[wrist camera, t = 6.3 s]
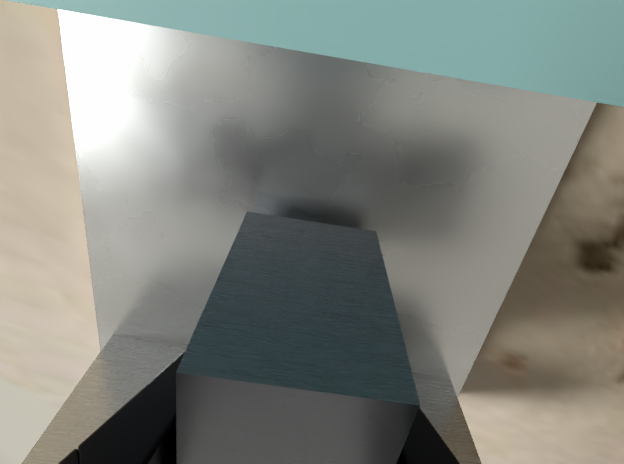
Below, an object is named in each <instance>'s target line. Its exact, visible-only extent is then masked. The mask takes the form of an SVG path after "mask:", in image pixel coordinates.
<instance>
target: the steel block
mask: <svg viewBox="0 0 624 464" xmlns="http://www.w3.org/2000/svg"><path fill="white" fill-rule="evenodd" d="M419 408H420V402H419V398H418V394H417V390H416V386H415V382H414V378H413V374H412V371H411V367H410V363H409V359H408V355H407V351H406V347H405V343H404V339H403V335H402V331H401V327H400V323H399V319H398V315H397V311H396V307H395V303H394V299H393V295H392V292H391V288H390V284H389V280H388V276H387V272H386V268H385V264H384V260H383V256H382V252H381V248H380V244H379V240H378V236H377V232H376V231H371V230H364V229H358V228H351V227H345V226H338V225H332V224H325V223H319V222H313V221H306V220H300V219H293V218H287V217H280V216H274V215H267V214H261V213H254V212H248V211H247V213H246V215H245V217H244V219H243V222H242V224H241V226H240V228H239V231H238V233H237V235H236V238H235V240H234V242H233V244H232V247H231V249H230V251H229V253H228V256H227V258H226V260H225V262H224V265H223V267H222V269H221V271H220V274H219V276H218V278H217V281H216V283H215V285H214V287H213V290H212V292H211V294H210V296H209V299H208V301H207V303H206V305H205V308H204V310H203V312H202V314H201V317H200V319H199V321H198V324H197V326H196V328H195V330H194V333H193V335H192V337H191V339H190V342H189V344H188V346H187V348H186V351H185V353H184V355H183V357H182V360H181V362H180V364H179V367H178V369H177V371H176V441H177V464H396V463H397V460H398V458H399V456H400V453H401V451H402V448H403V446H404V444H405V441H406V439H407V436H408V434H409V432H410V429H411V427H412V424H413V422H414V420H415V417H416V415H417V412H418V410H419Z"/></svg>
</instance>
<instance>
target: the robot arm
mask: <svg viewBox="0 0 624 464" xmlns="http://www.w3.org/2000/svg"><path fill="white" fill-rule="evenodd" d="M185 351H186V350H185ZM185 351H184V352H183V353H182V354H181V355H180V356H178V357H177V358H176V359H175V360H174V361H173V362H172V363H171V364H169V365H168V366H167V367H166V368H165V369H164V370H163V371H162V372H160V373H159V374H158V375H157V376H156V377H155V378H154V379H153V380H151V381H150V382H149V383H148V384H147V385H146V386H145V387H144V388H142V389H141V390H140V391H139V392H138V393H137V394H136V395H135V396H133V397H132V398H131V399H130V400H129V401H128V402H127V403H126V404H124V405H123V406H122V407H121V408H120V409H119V410H118V411H117V412H115V413H114V414H113V415H112V416H111V417H110V418H109V419H108V420H106V421H105V422H104V423H103V424H102V425H101V426H100V427H99V428H97V429H96V430H95V431H94V432H93V433H92V434H91V435H90V436H89V437H87V438H86V439H85V440H84V441H83V442H82V443H81V444H80V445H79V446H78V449H74V450H72V451H71V452H70V453H69V454H68V455H67V456H66V457H65V458H64V459H62V460H61V461H60V462H59V463H58V464H177V441H176V371H177V369H178V367H179V364H180V362H181V360H182V357H183V355H184V353H185ZM396 464H460V462H459V461H458V460H457V458H456V457H455V456H454V454H453V453H452V451H451V450H450V449H449V447H448V446H447V444H446V443H445V442H444V440H443V439H442V437H441V436H440V435H439V433H438V432H437V431H436V429H435V428H434V426H433V425H432V424H431V422H430V421H429V419H428V418H427V417H426V415H425V414H424V412H423V411H422V410H421V408H419V410H418V412H417V415H416V417H415V420H414V422H413V424H412V427H411V429H410V432H409V434H408V436H407V439H406V441H405V444H404V446H403V448H402V451H401V453H400V456H399V458H398V460H397V463H396Z"/></svg>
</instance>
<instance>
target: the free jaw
mask: <svg viewBox="0 0 624 464" xmlns="http://www.w3.org/2000/svg"><path fill="white" fill-rule="evenodd" d="M8 1H14V2H20V3H25V4H31V5H37V6H43V7H48V8H54V9H60V10H66V11H72V12H77V13H83V14H89V15H95V16H100V17H106V18H112V19H118V20H123V21H129V22H135V23H141V24H147V25H152V26H158V27H164V28H170V29H175V30H181V31H187V32H193V33H199V34H204V35H210V36H216V37H222V38H227V39H233V40H239V41H245V42H251V43H256V44H262V45H268V46H274V47H279V48H285V49H291V50H297V51H302V52H308V53H314V54H320V55H326V56H331V57H337V58H343V59H349V60H354V61H360V62H366V63H372V64H378V65H383V66H389V67H395V68H401V69H406V70H412V71H418V72H424V73H430V74H435V75H441V76H447V77H453V78H458V79H464V80H470V81H476V82H481V83H487V84H493V85H499V86H505V87H510V88H516V89H522V90H528V91H533V92H539V93H545V94H551V95H557V96H562V97H568V98H574V99H580V100H585V101H591V102H597V103H603V104H608V105H614V106H620V107H624V0H8Z"/></svg>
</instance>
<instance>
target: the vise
mask: <svg viewBox="0 0 624 464" xmlns="http://www.w3.org/2000/svg"><path fill="white" fill-rule="evenodd" d="M58 13H59V21H60V29H61V37H62V45H63V53H64V61H65V69H66V77H67V85H68V93H69V101H70V109H71V117H72V125H73V134H74V142H75V150H76V158H77V166H78V174H79V182H80V190H81V198H82V206H83V214H84V222H85V230H86V238H87V246H88V254H89V262H90V270H91V278H92V286H93V294H94V302H95V310H96V318H97V326H98V335H99V343H100V351H101V352H100V353H99V355H98V356H97V358H96V359H95V360H94V362H93V363H92V365H91V366H90V367H89V369H88V370H87V372H86V373H85V375H84V376H83V377H82V379H81V380H80V382H79V383H78V385H77V386H76V387H75V389H74V390H73V392H72V393H71V394H70V396H69V397H68V399H67V400H66V402H65V403H64V404H63V406H62V407H61V409H60V410H59V411H58V413H57V414H56V416H55V417H54V419H53V420H52V421H51V423H50V424H49V426H48V427H47V429H46V430H45V431H44V433H43V434H42V436H41V437H40V439H39V440H38V441H37V443H36V444H35V446H34V447H33V448H32V450H31V451H30V453H29V454H28V456H27V457H26V458H25V460H24V461H23V463H22V464H58V463H59V462H60V461H61V460H62V459H64V458H65V457H66V456H67V455H68V454H69V453H70V452H71V451H72V450H74V449H78V446H79V445H80V444H81V443H82V442H83V441H84V440H85V439H86V438H87V437H89V436H90V435H91V434H92V433H93V432H94V431H95V430H96V429H97V428H99V427H100V426H101V425H102V424H103V423H104V422H105V421H106V420H108V419H109V418H110V417H111V416H112V415H113V414H114V413H115V412H117V411H118V410H119V409H120V408H121V407H122V406H123V405H124V404H126V403H127V402H128V401H129V400H130V399H131V398H132V397H133V396H135V395H136V394H137V393H138V392H139V391H140V390H141V389H142V388H144V387H145V386H146V385H147V384H148V383H149V382H150V381H151V380H153V379H154V378H155V377H156V376H157V375H158V374H159V373H160V372H162V371H163V370H164V369H165V368H166V367H167V366H168V365H169V364H171V363H172V362H173V361H174V360H175V359H176V358H177V357H178V356H180V355H181V354H182V353H183V352H184V351H185V350H186V348H187V346H188V344H189V342H190V339H191V337H192V335H193V333H194V330H195V328H196V326H197V324H198V321H199V319H200V317H201V314H202V312H203V310H204V308H205V305H206V303H207V301H208V299H209V296H210V294H211V292H212V290H213V287H214V285H215V283H216V281H217V278H218V276H219V274H220V271H221V269H222V267H223V265H224V262H225V260H226V258H227V256H228V253H229V251H230V249H231V247H232V244H233V242H234V240H235V238H236V235H237V233H238V231H239V228H240V226H241V224H242V222H243V219H244V217H245V215H246V213H247V211H248V212H254V213H261V214H267V215H274V216H280V217H287V218H293V219H300V220H306V221H313V222H319V223H325V224H332V225H338V226H345V227H351V228H358V229H364V230H371V231H376V232H377V236H378V240H379V244H380V248H381V252H382V256H383V260H384V264H385V268H386V272H387V276H388V280H389V284H390V288H391V292H392V295H393V299H394V303H395V307H396V311H397V315H398V319H399V323H400V327H401V331H402V335H403V339H404V343H405V347H406V351H407V355H408V359H409V363H410V367H411V371H412V374H413V378H414V382H415V386H416V390H417V394H418V398H419V402H420V408H421V410H422V411H423V412H424V414H425V415H426V417H427V418H428V419H429V421H430V422H431V424H432V425H433V426H434V428H435V429H436V431H437V432H438V433H439V435H440V436H441V437H442V439H443V440H444V442H445V443H446V444H447V446H448V447H449V449H450V450H451V451H452V453H453V454H454V456H455V457H456V458H457V460H458V461H459V462H460V464H481V461H480V458H479V456H478V453H477V450H476V447H475V445H474V442H473V439H472V436H471V434H470V431H469V428H468V425H467V423H466V420H465V417H464V415H463V412H462V409H461V406H460V404H459V401H458V396H459V394H460V391H461V389H462V387H463V385H464V383H465V381H466V379H467V377H468V374H469V372H470V370H471V368H472V366H473V364H474V362H475V360H476V358H477V355H478V353H479V351H480V349H481V347H482V345H483V343H484V341H485V339H486V336H487V334H488V332H489V330H490V328H491V326H492V324H493V322H494V319H495V317H496V315H497V313H498V311H499V309H500V307H501V305H502V303H503V300H504V298H505V296H506V294H507V292H508V290H509V288H510V286H511V283H512V281H513V279H514V277H515V275H516V273H517V271H518V269H519V267H520V264H521V262H522V260H523V258H524V256H525V254H526V252H527V250H528V248H529V245H530V243H531V241H532V239H533V237H534V235H535V233H536V231H537V228H538V226H539V224H540V222H541V220H542V218H543V216H544V214H545V212H546V209H547V207H548V205H549V203H550V201H551V199H552V197H553V195H554V192H555V190H556V188H557V186H558V184H559V182H560V180H561V178H562V176H563V173H564V171H565V169H566V167H567V165H568V163H569V161H570V159H571V157H572V154H573V152H574V150H575V148H576V146H577V144H578V142H579V140H580V137H581V135H582V133H583V131H584V129H585V127H586V125H587V123H588V121H589V118H590V116H591V114H592V112H593V110H594V108H595V106H596V104H597V102H591V101H585V100H580V99H574V98H568V97H562V96H557V95H551V94H545V93H539V92H533V91H528V90H522V89H516V88H510V87H505V86H499V85H493V84H487V83H481V82H476V81H470V80H464V79H458V78H453V77H447V76H441V75H435V74H430V73H424V72H418V71H412V70H406V69H401V68H395V67H389V66H383V65H378V64H372V63H366V62H360V61H354V60H349V59H343V58H337V57H331V56H326V55H320V54H314V53H308V52H302V51H297V50H291V49H285V48H279V47H274V46H268V45H262V44H256V43H251V42H245V41H239V40H233V39H227V38H222V37H216V36H210V35H204V34H199V33H193V32H187V31H181V30H175V29H170V28H164V27H158V26H152V25H147V24H141V23H135V22H129V21H123V20H118V19H112V18H106V17H100V16H95V15H89V14H83V13H77V12H72V11H66V10H60V9H58Z"/></svg>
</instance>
